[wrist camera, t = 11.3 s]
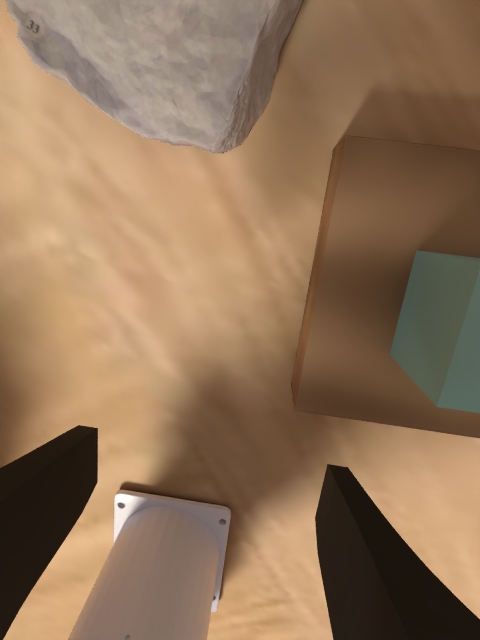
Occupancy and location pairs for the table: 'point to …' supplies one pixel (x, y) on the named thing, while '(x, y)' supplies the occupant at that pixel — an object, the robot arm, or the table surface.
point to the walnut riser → (381, 277)
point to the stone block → (163, 61)
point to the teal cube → (442, 329)
